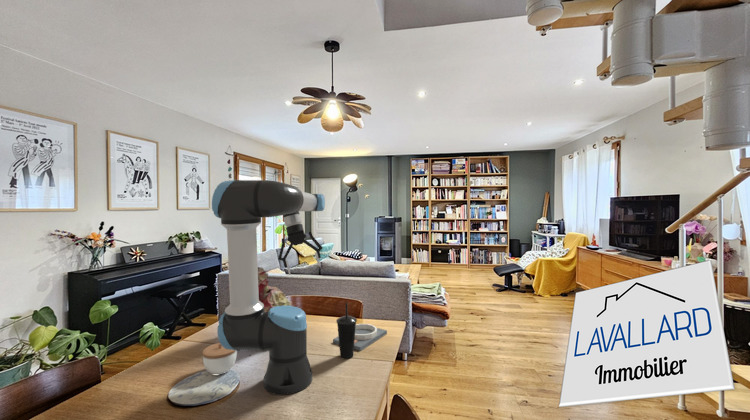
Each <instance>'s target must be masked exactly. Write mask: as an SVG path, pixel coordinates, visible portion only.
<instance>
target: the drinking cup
mask: <svg viewBox="0 0 750 420" xmlns="http://www.w3.org/2000/svg"><path fill="white" fill-rule="evenodd" d="M357 320H358V319H357V318H356V317H355V316H351V315H348V302H345V315H343V316H340V317H338V318H337V319H336V325H337V332H338V333H337V334H338V336H339V344H338V347H339V354H340V355H339V356H340V358H341V359H343V360H349V359H352V358H353V357H354V351H355V349H354V341H355V329H356V324H357ZM338 336H337V337H338Z"/></svg>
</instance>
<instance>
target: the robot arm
mask: <svg viewBox="0 0 750 420" xmlns="http://www.w3.org/2000/svg"><path fill="white" fill-rule="evenodd" d="M325 206H326V199H325V195H324V194H322V193H309V192H306V191H303V190H301V189H300V188H298V187H296V186H294V185H291V184H288V183H285V182H281V181H278V180H270V179H264V180H263V179H262V180H260V179H257V180H256V179H255V180H254V179H251V180H249V179H248V180H247V179H243V180H242V179H240V180H239V179H233V180H224V181H222V182H220V183H219V184H218V185H217V186H216V188H215V189H214V191H213V194H212V197H211V210H212V212H213V215H214V216H215V217H217V218H218V219H220V225H221V226H222V227H223V228H225V230H226V241H227V244H226V245H227V263H228V266H227V267H228V287H229V289H228V291H229V303H230V305H229V306H226V307H225V310H224V312H223V313H222V315H220V316H219V319H218V325H217V338H218V341H219V342H220V344H221V345H222V346H223V347H224V348H225V349H228V350H236V351H237V352H239V351H268V353H269V354H268V355H269V357H268V358H269V359H268V363H267V368H266V372H265V373H264V376H263V388H264V390H265V391H267V393H270V394H274V395H291V394H294V393H298V392H300V391H303V390H305V389H306V388H308V387H309V385H310V384H311V383H312V381H313V370H312V367H311V364H310V361H309V358H308V355H307V351H308V350H307V348H308V347H307V344H308V343H307V340H308V339H307V338H308V337H307V328H308V323H307V314H306V312H305V311H304V310H303V309H302V308H300V307H296V306H293V305H292V306H276V307H273V308H271V309H270V310H269V312H264V304H263V303H262V302H260V301H259V292H258V267H259V266H258V263H259V262H258V244H257V243H258V241H257V240H258V239H257V238H258V237H257V227H259V226H260V224H261V223H262V218H275V217H279V216H280V217H281V216H282V218H283V222H284V226H285V227H286V229H285V230H286V234H287V238H284V237H283V238H282V239H281V246H280V250H279V254H278V261H282V262H283V267H284V268H287V271H288V275H291V270H290V266H289V261H288V259H287V257H288V256H289V254H290V251H291V250H292V248H293V246H298V245H302V244H303V243H304V244H305V245H307V246H308V247H309V248H311V249H312V250H313V251H315V252H314V254H315V259H316V263H317V266H318V267H320V266H321V261H320V259H321V258H322V257H321V256H322V255H321V250H323V246H322V245H321V244H320V242H318V240H317V239H316V238H315V237H314V236H313V233H312V232H311V231H309V232H306V233H305V231H304V226H303V223H302V219H301V218H302V217H301V215H300V212H323V211H324V210H325ZM306 237H307V238H310V240H311V241H312V243H314V244H315V245H313V244H312V243H310V242H309V241H308V240H307V239H306ZM287 242H288V243H289V246H288V247H287V250H286V251H285V253H284V249H285V244H287ZM316 246H317V247H316ZM283 254H284V255H283ZM219 342H218V343H219Z"/></svg>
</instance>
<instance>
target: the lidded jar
mask: <svg viewBox="0 0 750 420" xmlns="http://www.w3.org/2000/svg"><path fill="white" fill-rule="evenodd" d="M237 353H238V351H236V350H228V349H225V348H224V347H223V346H222V345H221V344H220V343H219V342H217V343H214V344H210V345H209V346H206V347H205V348H204V349H203V350H202V362H203V366H204V369H205V370H206V371H207V372H208V373H210V374H211V373H212V374H221V373H224V372H227V371H228V370H229V371H230V370H231V369H232V367H233V366H234V365H235V362H236V361H237V356H238V355H237ZM229 371H228V372H229ZM228 372H227V373H228ZM212 374H211V375H212Z"/></svg>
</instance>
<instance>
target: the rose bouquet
mask: <svg viewBox="0 0 750 420" xmlns="http://www.w3.org/2000/svg"><path fill="white" fill-rule="evenodd" d="M268 276H269V273H268V271H267V270H265V269H264V268H263V267H262V266H261V267H259V266H258V292H259V301H260V302H262V303H263V304H264V312H269V310H270V309H271V308H273V307H276V306H293V305H292V304H293V301H291V300H289V299H288V297H286V294H285V293H284V292H283V291H282V290H280V289H279V287H276V286H270V285H268V284H269V280H268V278H269V277H268ZM225 289H228V290H229V286H228V287H226V288H225ZM229 305H230V302H229V303H226V304H225V305H224V307H228V306H229ZM218 343H220V342H218Z"/></svg>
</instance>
